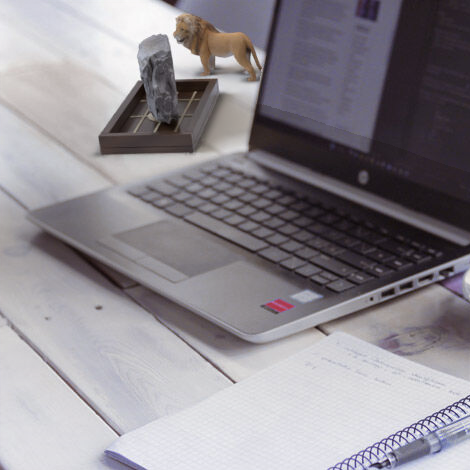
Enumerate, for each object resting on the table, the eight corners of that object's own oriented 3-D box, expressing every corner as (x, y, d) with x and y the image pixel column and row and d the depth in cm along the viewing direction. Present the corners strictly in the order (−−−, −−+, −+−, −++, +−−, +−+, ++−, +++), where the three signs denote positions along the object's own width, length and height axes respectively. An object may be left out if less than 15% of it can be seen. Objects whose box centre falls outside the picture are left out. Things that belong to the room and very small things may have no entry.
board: (101, 157, 113) (97, 136, 111) (140, 99, 131) (137, 80, 130) (193, 155, 112) (191, 134, 111) (219, 97, 131) (217, 78, 130)
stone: (146, 97, 127) (136, 23, 123) (181, 94, 128) (172, 21, 123) (143, 138, 114) (131, 57, 109) (181, 134, 114) (171, 53, 110)
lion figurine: (172, 78, 139) (165, 17, 135) (189, 68, 143) (182, 8, 139) (265, 85, 135) (260, 22, 131) (279, 74, 139) (275, 12, 135)
